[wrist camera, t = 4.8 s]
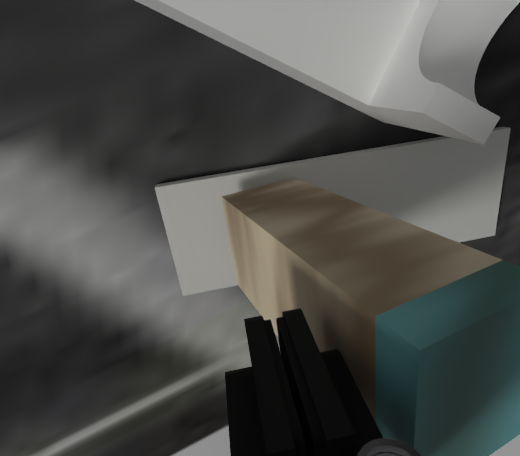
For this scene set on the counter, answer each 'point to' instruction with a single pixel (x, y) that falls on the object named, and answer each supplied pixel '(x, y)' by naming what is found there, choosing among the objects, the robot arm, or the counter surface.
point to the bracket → (367, 52)
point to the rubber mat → (346, 185)
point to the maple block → (389, 311)
